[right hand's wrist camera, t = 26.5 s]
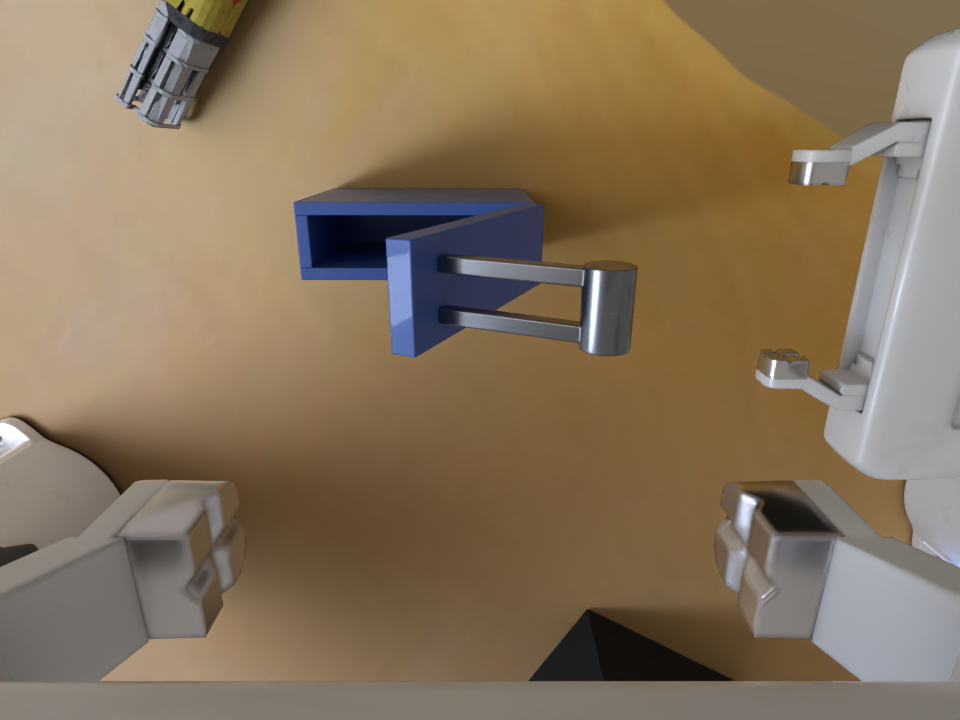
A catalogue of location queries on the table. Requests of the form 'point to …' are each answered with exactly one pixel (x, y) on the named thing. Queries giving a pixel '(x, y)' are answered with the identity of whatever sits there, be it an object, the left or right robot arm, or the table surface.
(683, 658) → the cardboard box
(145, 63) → the toy gun
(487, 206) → the chest
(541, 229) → the lid
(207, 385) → the table surface
